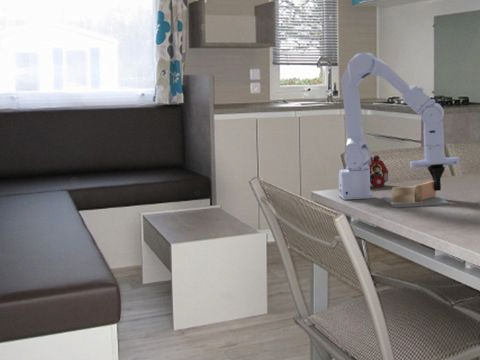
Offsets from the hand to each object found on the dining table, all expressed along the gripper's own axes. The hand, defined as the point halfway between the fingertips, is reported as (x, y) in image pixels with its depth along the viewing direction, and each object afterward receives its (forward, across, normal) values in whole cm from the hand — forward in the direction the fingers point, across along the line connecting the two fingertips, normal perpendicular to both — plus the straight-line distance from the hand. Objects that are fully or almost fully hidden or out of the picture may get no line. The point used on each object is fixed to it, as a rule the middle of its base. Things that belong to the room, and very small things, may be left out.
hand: (435, 190), depth 211 cm
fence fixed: (+2, +11, +5) cm, 12 cm away
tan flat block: (+2, +3, +2) cm, 4 cm away
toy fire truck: (+3, +12, -28) cm, 31 cm away
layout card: (+2, +7, +2) cm, 8 cm away
